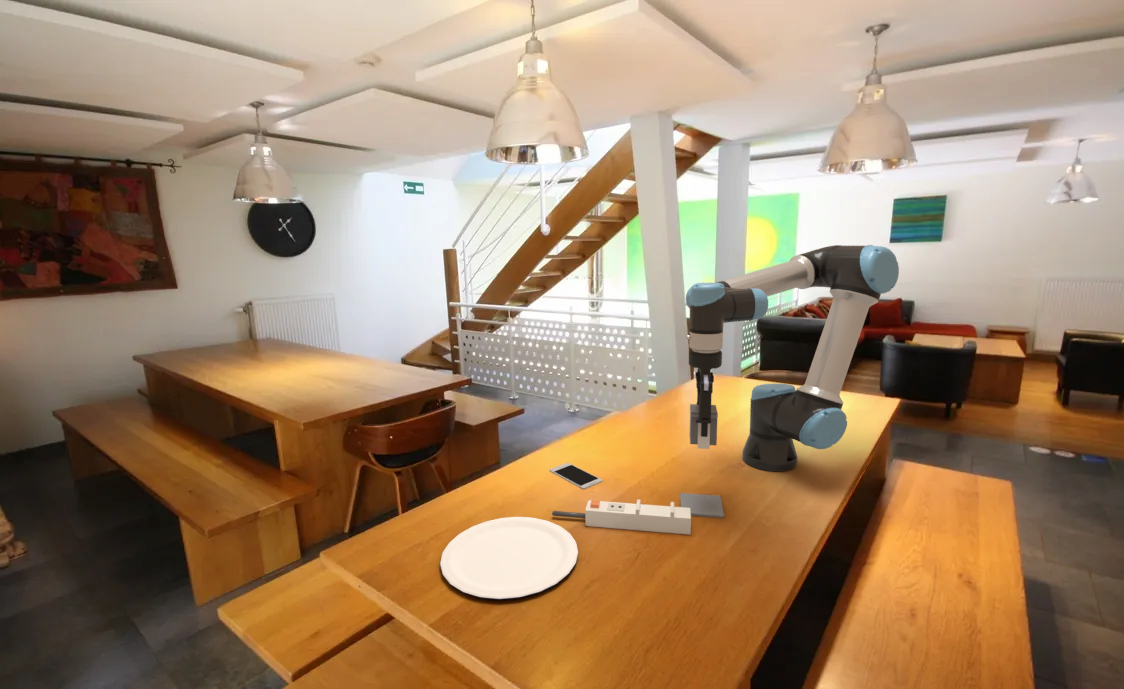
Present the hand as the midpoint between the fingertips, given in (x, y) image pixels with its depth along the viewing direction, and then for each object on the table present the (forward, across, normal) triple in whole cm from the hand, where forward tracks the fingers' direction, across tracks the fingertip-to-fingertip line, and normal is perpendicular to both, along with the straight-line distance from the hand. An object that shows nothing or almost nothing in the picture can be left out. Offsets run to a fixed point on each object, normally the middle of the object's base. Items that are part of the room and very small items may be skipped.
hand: (702, 442), depth 128 cm
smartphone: (+18, -12, -34) cm, 40 cm away
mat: (+17, 0, 0) cm, 17 cm away
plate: (+18, +28, -41) cm, 53 cm away
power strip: (+17, +11, -19) cm, 28 cm away
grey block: (-1, 0, 0) cm, 1 cm away
